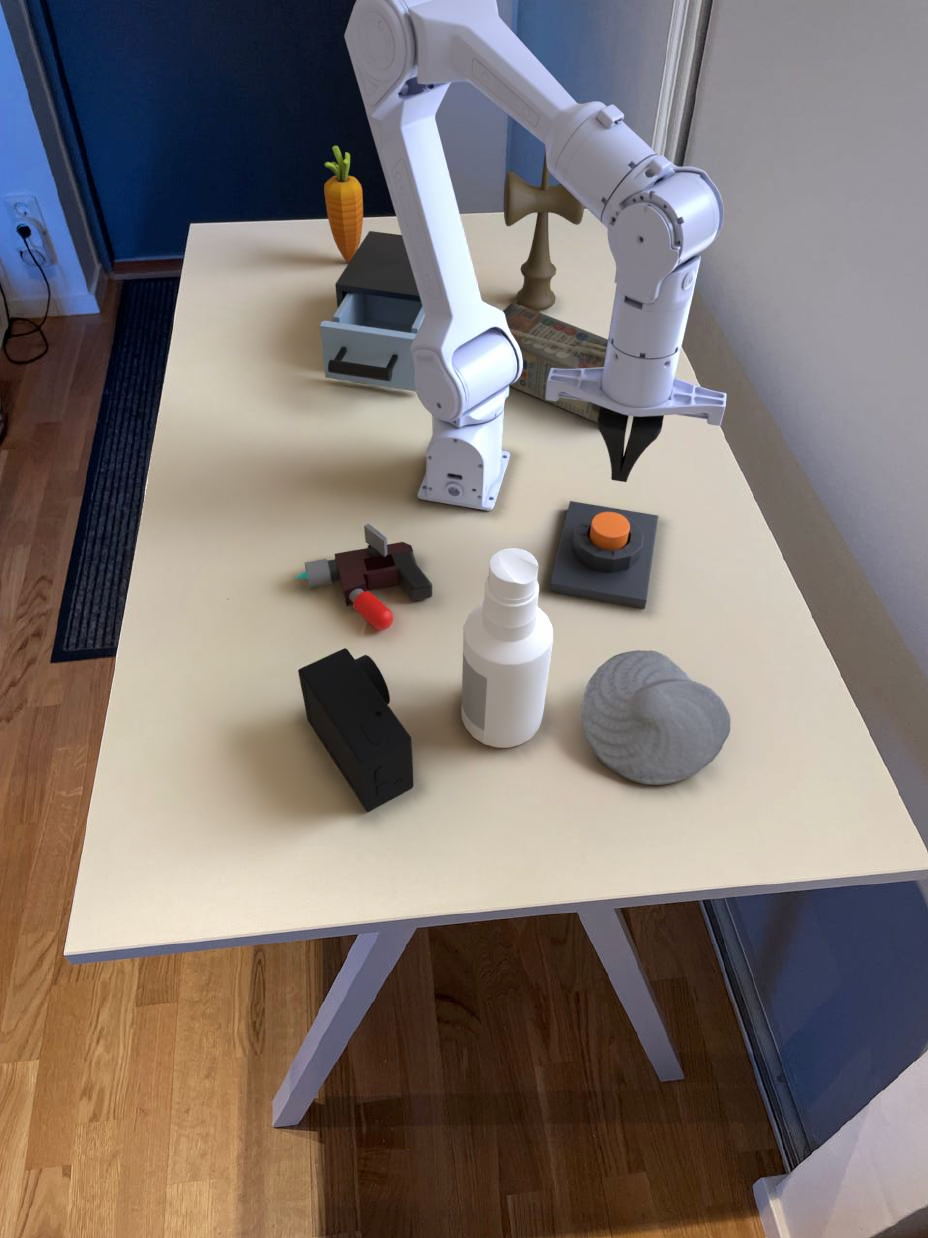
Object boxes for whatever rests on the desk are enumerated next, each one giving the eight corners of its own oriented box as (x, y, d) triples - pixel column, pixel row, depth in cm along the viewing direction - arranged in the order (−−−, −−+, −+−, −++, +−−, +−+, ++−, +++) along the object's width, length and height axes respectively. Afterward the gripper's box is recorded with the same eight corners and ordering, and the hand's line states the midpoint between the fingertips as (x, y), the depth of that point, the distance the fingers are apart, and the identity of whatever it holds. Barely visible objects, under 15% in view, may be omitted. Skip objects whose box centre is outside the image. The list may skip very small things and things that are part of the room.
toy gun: (293, 574, 88) (287, 537, 84) (416, 552, 90) (415, 515, 86) (310, 650, 82) (303, 613, 78) (441, 624, 84) (440, 588, 80)
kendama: (498, 291, 123) (505, 133, 108) (569, 291, 123) (587, 133, 108) (500, 315, 119) (508, 154, 104) (574, 315, 119) (592, 155, 104)
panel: (644, 609, 85) (650, 587, 83) (549, 592, 87) (552, 570, 84) (656, 524, 93) (661, 501, 91) (568, 509, 94) (571, 486, 92)
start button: (624, 553, 87) (627, 540, 85) (587, 547, 87) (589, 533, 86) (629, 528, 89) (632, 514, 88) (592, 522, 89) (594, 508, 88)
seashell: (618, 661, 81) (550, 720, 75) (642, 621, 77) (572, 679, 71) (724, 749, 78) (662, 818, 72) (755, 711, 73) (691, 782, 67)
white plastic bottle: (500, 670, 80) (511, 517, 67) (558, 716, 77) (583, 565, 64) (444, 714, 77) (444, 563, 64) (502, 764, 74) (515, 616, 60)
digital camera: (428, 781, 73) (427, 731, 68) (367, 814, 71) (362, 765, 66) (364, 692, 79) (359, 640, 73) (307, 720, 77) (297, 668, 71)
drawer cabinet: (440, 363, 111) (440, 298, 105) (341, 349, 113) (334, 283, 107) (465, 306, 120) (467, 242, 114) (373, 293, 122) (369, 230, 115)
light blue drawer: (409, 413, 103) (407, 361, 98) (312, 398, 105) (306, 346, 100) (445, 334, 114) (445, 283, 109) (357, 322, 116) (353, 271, 110)
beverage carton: (612, 433, 103) (620, 383, 98) (471, 375, 110) (472, 325, 105) (645, 399, 107) (655, 349, 102) (508, 345, 114) (510, 296, 109)
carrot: (365, 271, 126) (357, 158, 114) (329, 270, 126) (317, 157, 114) (368, 254, 129) (361, 141, 118) (333, 253, 129) (322, 140, 118)
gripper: (740, 324, 73) (704, 459, 84) (561, 300, 75) (547, 434, 86) (737, 373, 69) (699, 509, 79) (547, 346, 71) (534, 482, 81)
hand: (620, 474), depth 82 cm, fingers closed
